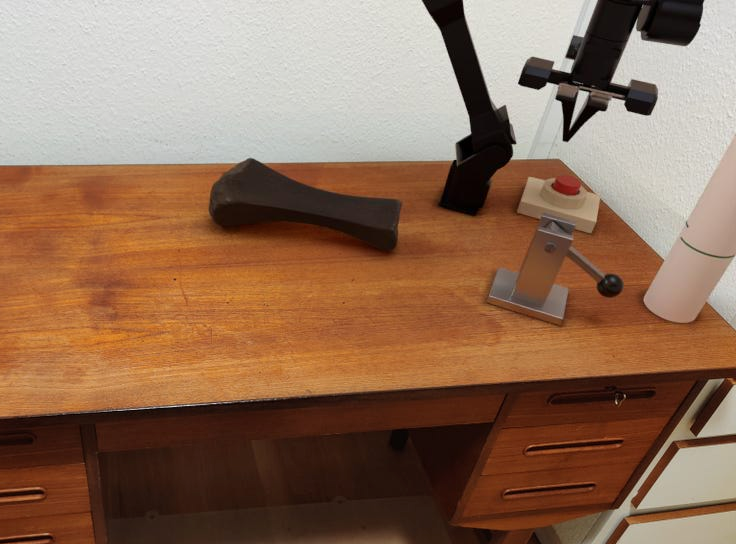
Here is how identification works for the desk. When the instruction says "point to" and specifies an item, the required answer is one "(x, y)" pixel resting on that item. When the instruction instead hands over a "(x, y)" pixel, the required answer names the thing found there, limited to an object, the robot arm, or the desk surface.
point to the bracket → (537, 275)
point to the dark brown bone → (300, 205)
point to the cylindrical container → (699, 249)
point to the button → (566, 185)
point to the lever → (594, 270)
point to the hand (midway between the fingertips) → (565, 140)
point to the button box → (559, 203)
